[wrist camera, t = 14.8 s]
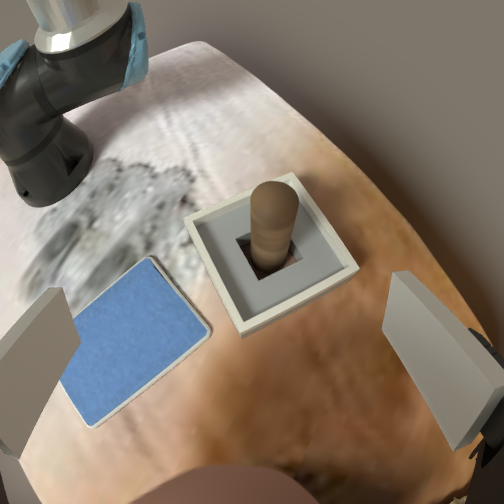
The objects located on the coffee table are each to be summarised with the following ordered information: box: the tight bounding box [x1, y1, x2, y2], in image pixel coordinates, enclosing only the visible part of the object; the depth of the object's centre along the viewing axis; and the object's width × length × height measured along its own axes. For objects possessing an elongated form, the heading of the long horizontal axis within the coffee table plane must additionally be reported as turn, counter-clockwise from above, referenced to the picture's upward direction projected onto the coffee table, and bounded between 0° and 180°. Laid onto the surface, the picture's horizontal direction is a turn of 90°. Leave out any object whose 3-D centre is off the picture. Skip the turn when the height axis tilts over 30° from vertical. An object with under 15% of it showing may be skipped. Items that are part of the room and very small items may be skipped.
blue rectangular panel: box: [59, 256, 212, 429], centre depth 32 cm, size 19×13×1 cm, turn 132°
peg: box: [250, 181, 299, 274], centre depth 31 cm, size 4×4×12 cm
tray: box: [183, 172, 360, 339], centre depth 34 cm, size 14×14×4 cm
